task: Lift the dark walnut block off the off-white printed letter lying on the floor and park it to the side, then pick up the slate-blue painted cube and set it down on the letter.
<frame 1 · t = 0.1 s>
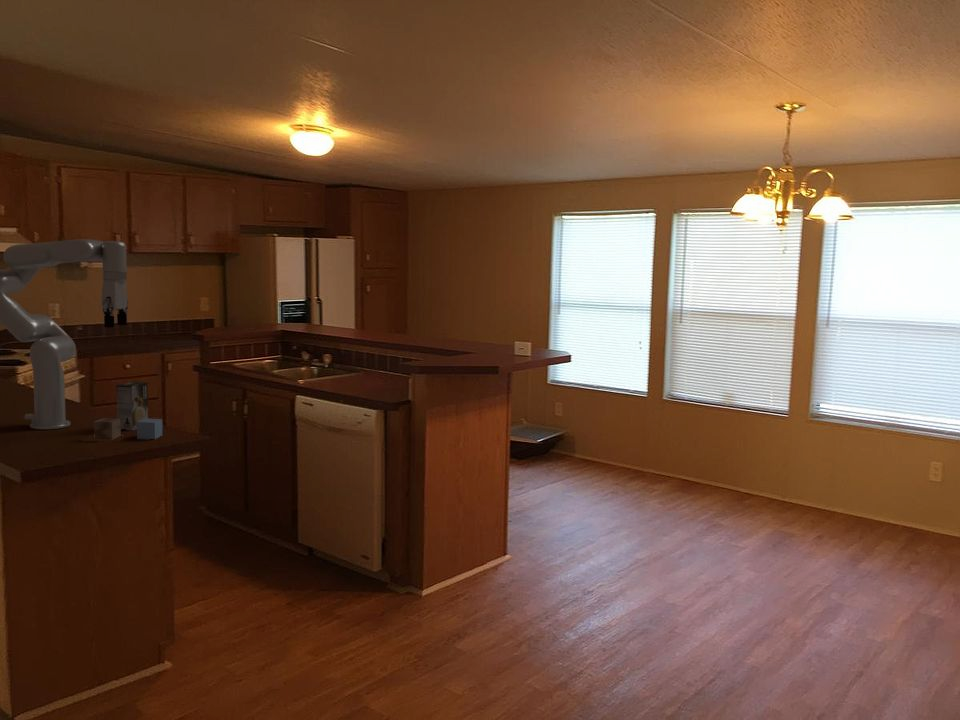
hand: (115, 326, 267), 37 cm above the countertop, tool pointing down, fingers open, 9 cm apart
letter: (103, 438, 257), on the countertop
blue cube: (149, 437, 261), on the countertop
walnut block: (107, 437, 258), resting on letter
coffee box: (133, 428, 275), on the countertop
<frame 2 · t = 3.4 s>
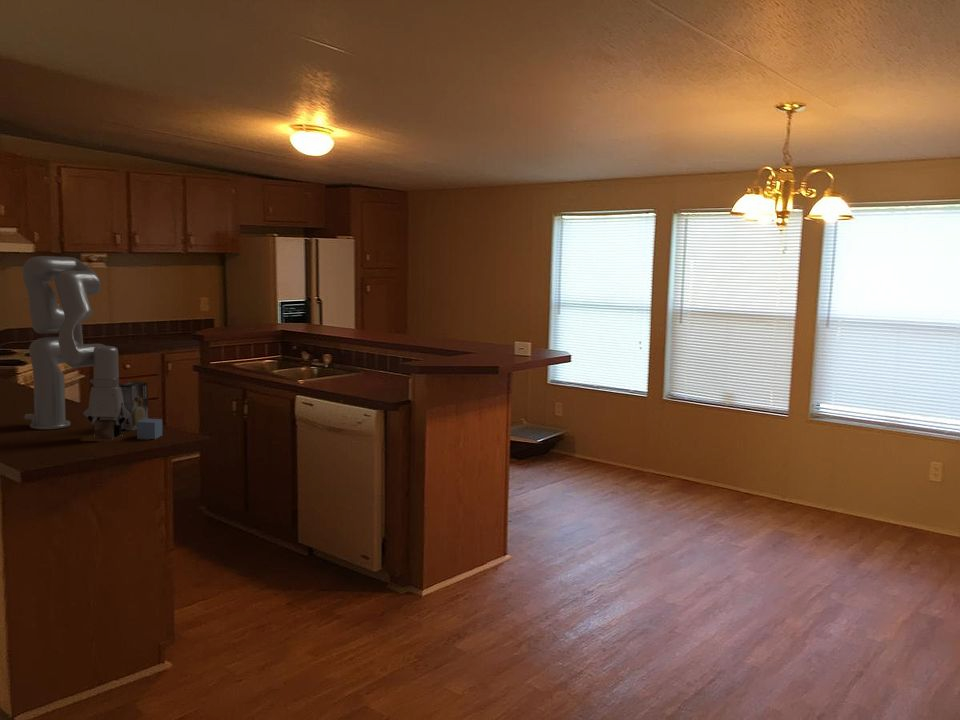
hand: (107, 435, 258), 1 cm above the countertop, tool pointing down, fingers closed on walnut block, 6 cm apart
walnut block: (107, 437, 258), resting on letter, touching gripper
everything else where it was.
when the fingers open (2 cm above the countertop, at t = 7.5 s): walnut block drops 1 cm, on the countertop.
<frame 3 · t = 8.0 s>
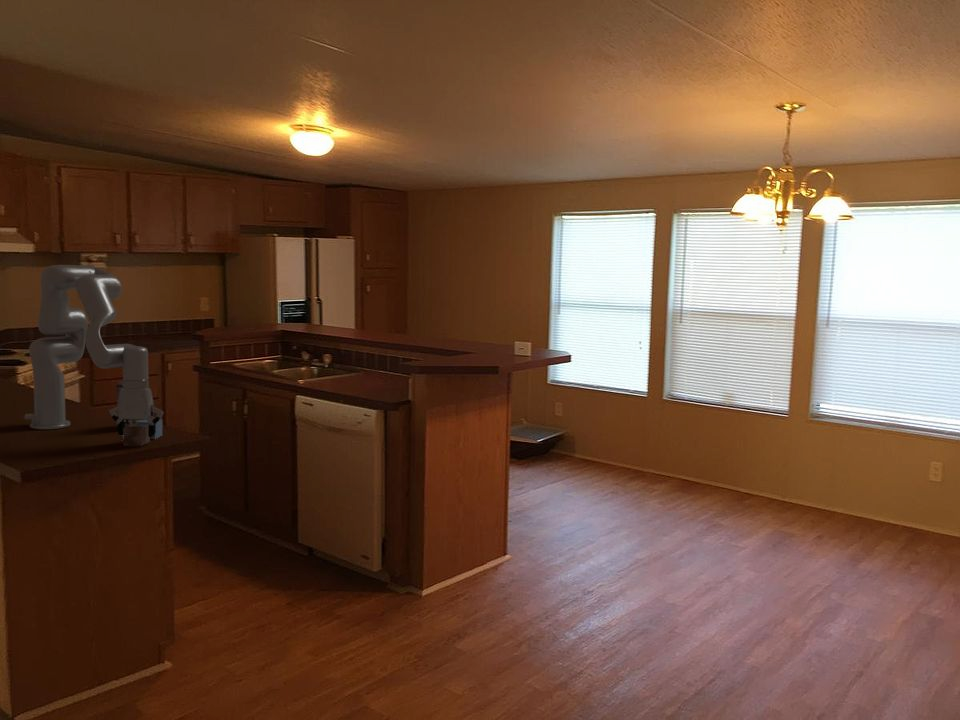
hand: (136, 435, 251), 3 cm above the countertop, tool pointing down, fingers open, 9 cm apart
walnut block: (136, 444, 251), on the countertop
everything else where it was.
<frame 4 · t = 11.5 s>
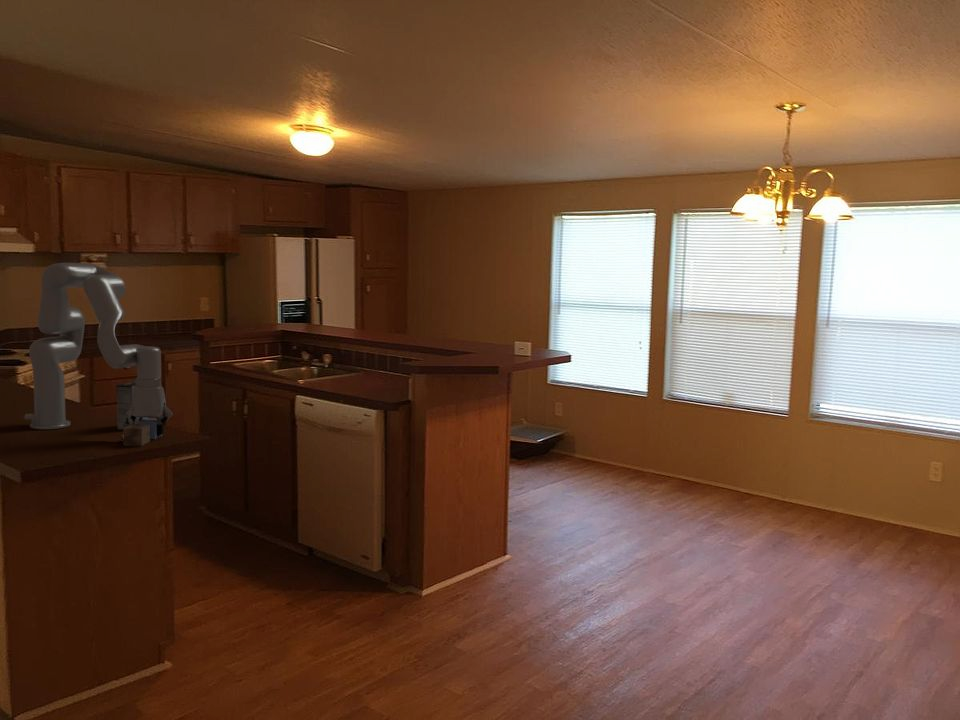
hand: (149, 434, 261), 1 cm above the countertop, tool pointing down, fingers closed on blue cube, 6 cm apart
blue cube: (150, 437, 261), on the countertop, touching gripper
everything else where it was.
when the fingers open (2 cm above the countertop, at t = 16.3 s): blue cube stays where it is, resting on letter.
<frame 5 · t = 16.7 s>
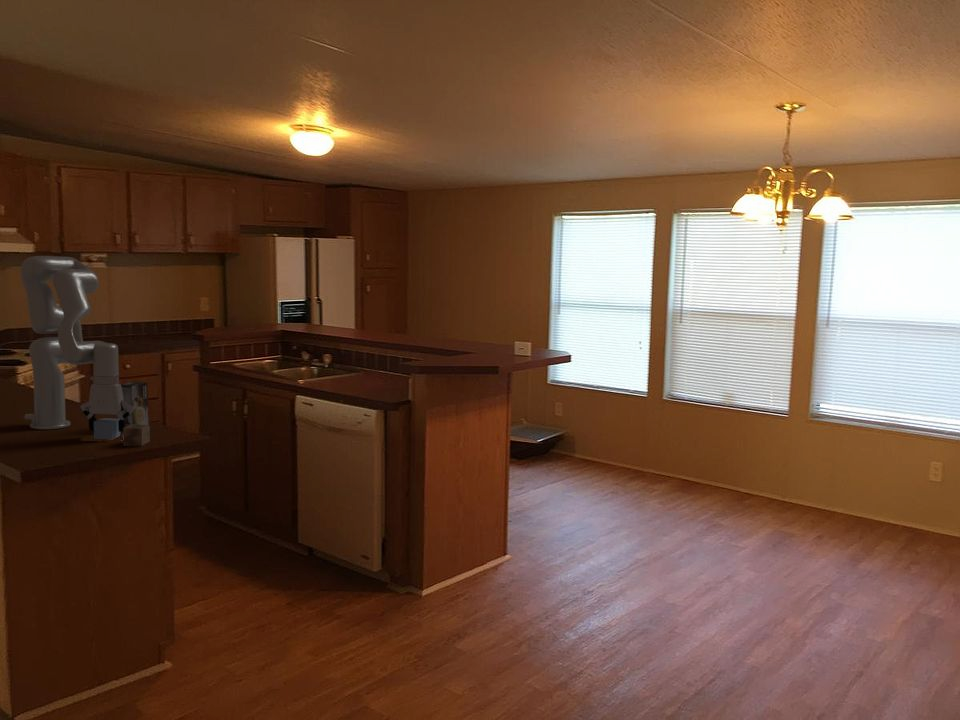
hand: (107, 430, 258), 3 cm above the countertop, tool pointing down, fingers open, 9 cm apart
blue cube: (107, 437, 258), resting on letter
everything else where it was.
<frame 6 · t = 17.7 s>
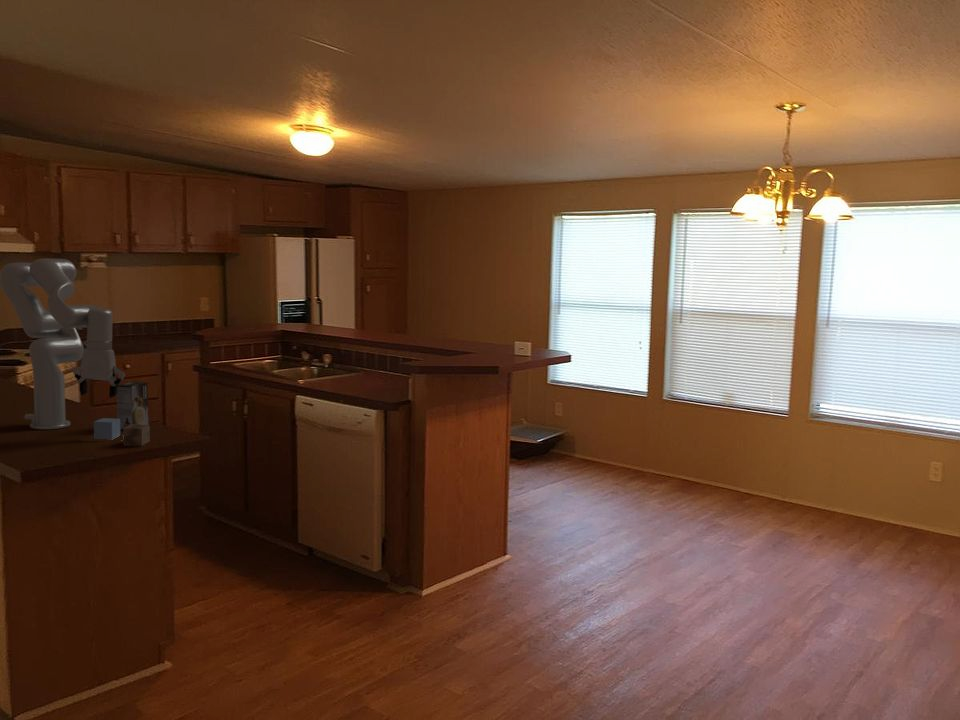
hand: (98, 395, 258), 14 cm above the countertop, tool pointing down, fingers open, 9 cm apart
nothing on the countertop moved.
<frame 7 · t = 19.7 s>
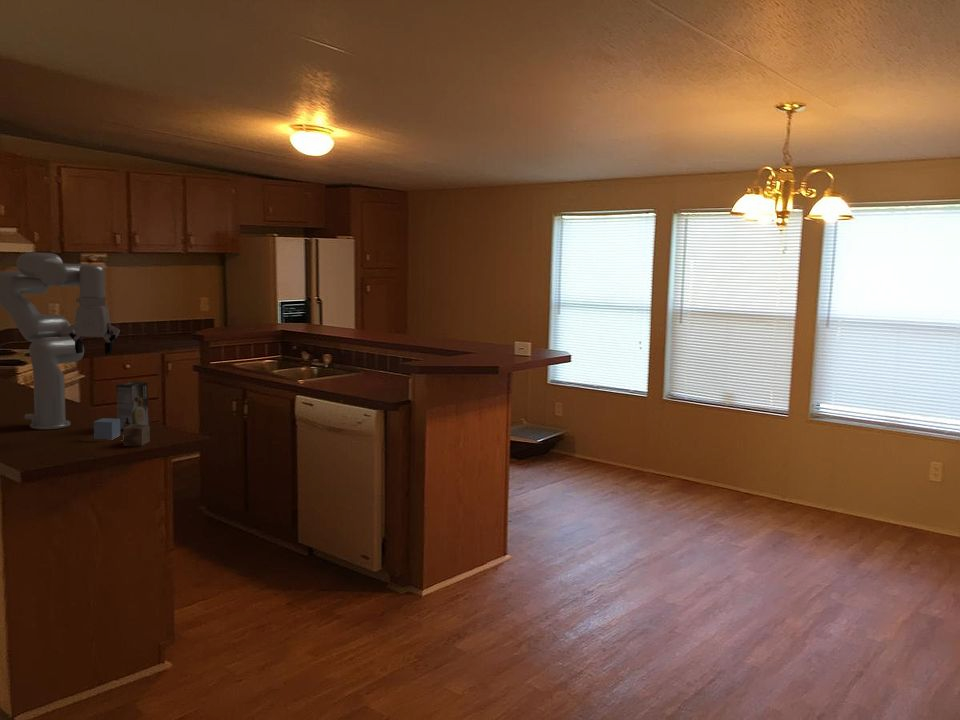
hand: (93, 353, 257), 28 cm above the countertop, tool pointing down, fingers open, 9 cm apart
nothing on the countertop moved.
at the end: blue cube inside the target area on the letter (1.3 cm from its centre), point 0.1 cm above the letter's base; walnut block touching countertop; blue cube tilted 0° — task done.
